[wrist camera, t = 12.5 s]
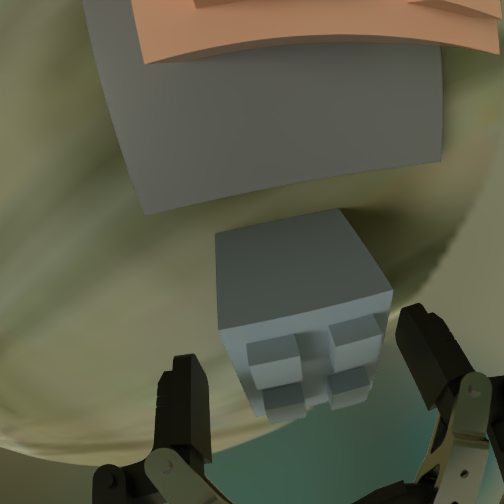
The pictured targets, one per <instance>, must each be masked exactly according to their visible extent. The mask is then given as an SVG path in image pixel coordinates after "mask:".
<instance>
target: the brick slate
mask: <svg viewBox="0 0 504 504" xmlns="http://www.w3.org/2000/svg"><path fill="white" fill-rule="evenodd" d="M215 253H216V286H217V312H218V331H219V333H220V336H221V338H222V340H223V343H224V345H225V348H226V350H227V352H228V355H229V357H230V359H231V362H232V364H233V366H234V369H235V371H236V373H237V376H238V378H239V380H240V383H241V385H242V387H243V389H244V392H245V394H246V396H247V398H248V400H249V403H250V405H251V407H252V409H253V411H254V414H255V416H256V417H258V416H264V415H267V417H268V419H269V422H270V424H274V423H279V422H284V421H289V420H294V419H299V418H303V417H306V408H305V407H308V406H312V405H316V404H320V403H324V402H328V401H329V403H330V406H331V410H335V409H339V408H343V407H346V406H349V405H353V404H357V403H360V402H363V401H366V398H367V395H368V391H369V390H370V389H371V388H372V384H373V381H374V377H375V373H376V369H377V365H378V362H379V357H380V353H381V349H382V345H383V341H384V336H385V332H386V327H387V322H388V317H389V312H390V307H391V301H392V296H393V290H394V289H393V288H392V286H391V285H390V283H389V282H388V280H387V278H386V277H385V275H384V274H383V272H382V271H381V269H380V268H379V266H378V264H377V263H376V261H375V260H374V258H373V257H372V255H371V254H370V252H369V251H368V249H367V248H366V247H365V245H364V244H363V242H362V241H361V239H360V238H359V236H358V235H357V233H356V232H355V231H354V229H353V228H352V226H351V225H350V223H349V222H348V221H347V219H346V218H345V216H344V215H343V214H342V212H341V211H340V210H339V208H336V209H331V210H326V211H321V212H316V213H311V214H306V215H301V216H296V217H291V218H286V219H281V220H276V221H272V222H267V223H262V224H257V225H253V226H248V227H243V228H239V229H234V230H229V231H225V232H220V233H216V234H215Z"/></svg>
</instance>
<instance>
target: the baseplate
mask: <svg viewBox="0 0 504 504" xmlns="http://www.w3.org/2000/svg"><path fill="white" fill-rule="evenodd" d="M82 1H83V6H84V12H85V17H86V21H87V26H88V31H89V35H90V40H91V44H92V49H93V53H94V57H95V61H96V65H97V69H98V73H99V77H100V80H101V84H102V88H103V91H104V95H105V99H106V102H107V105H108V109H109V112H110V116H111V119H112V122H113V126H114V129H115V132H116V135H117V138H118V141H119V145H120V148H121V151H122V154H123V157H124V160H125V163H126V166H127V168H128V171H129V174H130V177H131V180H132V183H133V186H134V188H135V191H136V194H137V197H138V199H139V202H140V205H141V207H142V210H143V213H144V215H145V216H147V215H151V214H155V213H159V212H163V211H167V210H172V209H176V208H180V207H184V206H188V205H193V204H197V203H201V202H206V201H210V200H215V199H219V198H224V197H228V196H233V195H238V194H243V193H247V192H252V191H257V190H262V189H267V188H272V187H278V186H283V185H288V184H293V183H299V182H304V181H310V180H316V179H322V178H328V177H334V176H340V175H346V174H352V173H359V172H365V171H372V170H379V169H386V168H394V167H401V166H409V165H417V164H425V163H434V162H441V152H442V132H443V82H442V62H441V49H440V46H436V45H425V44H408V43H373V42H324V43H304V44H291V45H280V46H271V47H263V48H255V49H248V50H242V51H236V52H230V53H224V54H219V55H214V56H209V57H204V58H199V59H195V60H191V61H186V62H179V63H158V64H144V60H143V55H142V51H141V47H140V42H139V37H138V33H137V28H136V23H135V18H134V13H133V8H132V3H131V0H82Z"/></svg>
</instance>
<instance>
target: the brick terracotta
mask: <svg viewBox="0 0 504 504" xmlns="http://www.w3.org/2000/svg"><path fill="white" fill-rule="evenodd" d="M131 3H132V8H133V13H134V18H135V23H136V28H137V33H138V37H139V42H140V47H141V51H142V55H143V60H144V64H158V63H179V62H186V61H191V60H195V59H199V58H204V57H209V56H214V55H219V54H224V53H230V52H236V51H242V50H248V49H255V48H263V47H271V46H280V45H291V44H304V43H324V42H373V43H408V44H425V45H436V46H446V47H455V48H462V49H469V50H475V51H481V52H487V53H492V54H497V55H500V53H499V39H498V28H497V19H502V13H501V6H500V0H131Z"/></svg>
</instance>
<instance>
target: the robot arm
mask: <svg viewBox="0 0 504 504" xmlns="http://www.w3.org/2000/svg"><path fill="white" fill-rule="evenodd" d="M395 336H396V342H397V345H398V348H399V349H400V351H401V354H402V355H403V358H404V360H405V362H406V364H407V366H408V368H409V370H410V372H411V374H412V376H413V378H414V380H415V382H416V385H417V387H418V389H419V391H420V393H421V395H422V398H423V400H424V402H425V404H426V407H427V409H428V411H430V410H432V409H434V408H438V411H439V414H438V417H437V421H436V425H435V428H434V432H433V436H432V439H431V442H430V446H429V449H428V452H427V455H426V457H425V459H424V461H423V462H422V464H421V466H420V468H419V470H418V473H417V475H416V478H415V481H414V483H405V484H404V481H403V480H402V481H399V482H396V483H394V484H391V485H388V486H386V487H383V488H380V489H377V490H375V491H373V492H372V493H370V494H368V495H367V496H365V497H363V498H361V499H360V500H358V501H356V502H354V503H352V504H475V502H476V499H477V496H478V492H479V489H480V485H481V482H482V478H483V474H484V470H485V466H486V462H487V458H488V453H489V447H490V443H489V440H490V442H491V445H492V447H493V451H494V453H495V457H496V459H497V462H498V465H499V469H500V472H501V475H502V478H503V482H504V375H503V376H496V377H487V376H486V375H484V374H483V373H480V372H476V371H475V370H474V369H473V367H472V366H471V364H470V363H469V361H468V359H467V357H466V356H465V354H464V352H463V351H462V349H461V348H460V346H459V344H458V343H457V341H456V340H455V339H454V336H453V335H452V333H451V332H450V331H449V328H448V327H447V325H446V324H445V322H444V321H443V319H441V318H440V317H439V316H437V315H436V314H435V313H433V312H432V313H429V314H428V313H427V311H426V310H425V308H424V307H423V305H422V304H420V303H416V304H413V305H410V306H407V307H403V308H402V309H401V311H400V316H399V320H398V324H397V328H396V333H395ZM156 406H157V408H156V416H155V432H154V445H153V449H152V451H151V453H150V454H149V455H148V456H147V457H146V458H145V459H144V460H142V461H140V462H137V463H134V464H131V465H128V466H125V467H121V468H119V467H117V466H115V465H112V464H106V465H103V466H101V467H99V468H98V469H97V470H96V472H95V473H94V476H93V489H92V490H93V491H92V504H164V503H167V502H168V503H169V504H234V503H233V502H232V501H230V499H229V498H228V497H226V496H225V495H224V494H223V493H222V492H221V491H220V490H219V489H218V488H217V487H216V486H215V485H214V484H213V483H212V482H211V481H210V480H209V479H208V478H207V477H206V475H205V474H204V464H205V463H212V452H211V433H210V410H209V386H208V380H207V377H206V374H205V372H204V370H203V369H202V367H201V365H200V363H199V361H198V359H197V357H196V355H195V354H186V355H179V356H175V357H174V359H173V370H172V371H164V373H163V375H162V376H161V378H160V380H159V382H158V389H157V402H156ZM486 432H487V434H488V437H489V440H487V439H486ZM499 504H504V493H503V495H502V498H501V500H500V503H499Z"/></svg>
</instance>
